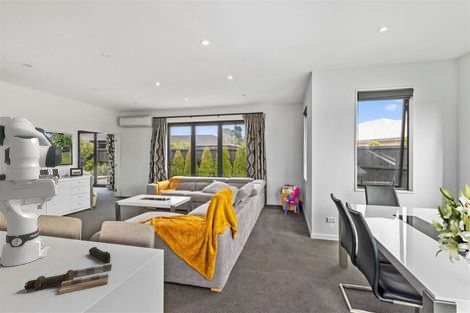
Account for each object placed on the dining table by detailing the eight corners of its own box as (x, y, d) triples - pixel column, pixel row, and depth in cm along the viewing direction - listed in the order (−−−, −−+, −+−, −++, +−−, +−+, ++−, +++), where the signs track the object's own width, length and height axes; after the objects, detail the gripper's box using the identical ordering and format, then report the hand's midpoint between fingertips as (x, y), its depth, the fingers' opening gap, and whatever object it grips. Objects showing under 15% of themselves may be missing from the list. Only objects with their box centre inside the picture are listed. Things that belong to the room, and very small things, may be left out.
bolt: (27, 294, 85) (72, 285, 90) (20, 294, 81) (68, 284, 86) (31, 277, 88) (74, 269, 93) (24, 276, 84) (70, 268, 89)
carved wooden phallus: (88, 255, 116) (88, 246, 116) (96, 252, 119) (96, 244, 119) (103, 266, 104) (103, 256, 104) (112, 262, 107) (112, 253, 107)
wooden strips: (71, 273, 97) (71, 267, 97) (112, 266, 103) (112, 260, 103) (58, 294, 82) (58, 287, 82) (107, 284, 88) (107, 278, 88)
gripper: (60, 174, 93) (60, 206, 93) (-7, 176, 84) (-7, 212, 83) (56, 174, 88) (56, 208, 87) (-16, 177, 78) (-16, 215, 78)
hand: (24, 210), depth 85 cm, fingers open, 8 cm apart
